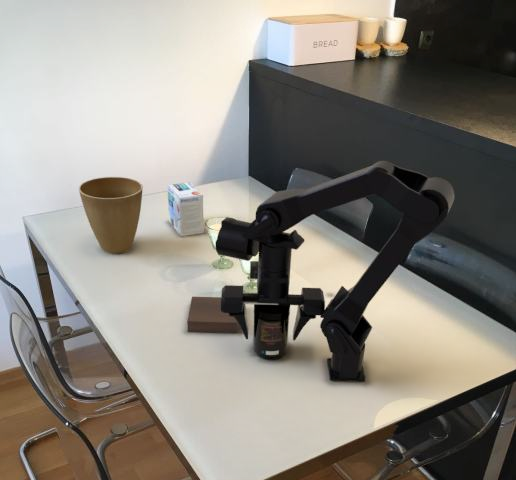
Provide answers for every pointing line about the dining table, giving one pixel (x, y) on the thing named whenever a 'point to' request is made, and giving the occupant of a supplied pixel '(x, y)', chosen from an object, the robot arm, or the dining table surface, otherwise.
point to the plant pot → (112, 211)
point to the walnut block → (209, 316)
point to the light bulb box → (185, 208)
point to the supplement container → (270, 330)
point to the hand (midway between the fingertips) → (270, 338)
